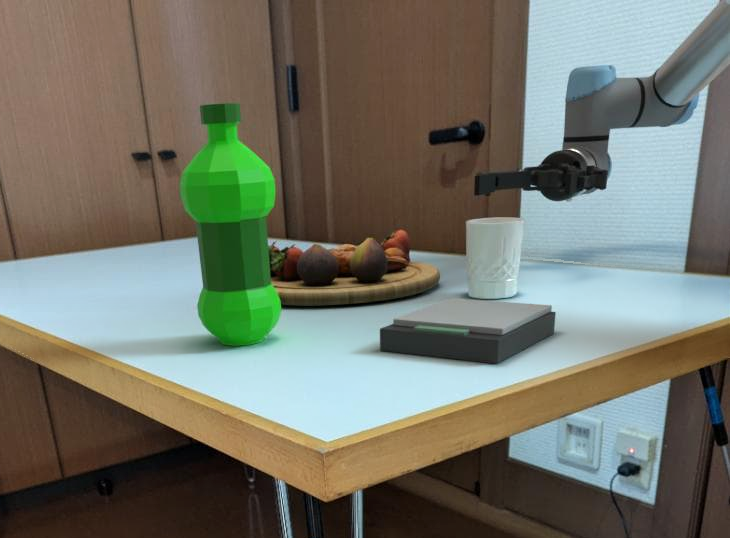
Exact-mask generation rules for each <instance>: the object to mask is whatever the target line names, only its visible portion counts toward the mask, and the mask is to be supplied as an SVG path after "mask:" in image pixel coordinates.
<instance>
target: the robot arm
mask: <svg viewBox="0 0 730 538" xmlns="http://www.w3.org/2000/svg"><path fill="white" fill-rule="evenodd" d="M729 65H730V0H720V1H719V3H717V4H716V6H715V7H713V9H712V10H711V11H710V12H709V13H708V14H707V15H706V16H705V18H703V19H702V21H701V22H700V23H699V24H698V25H697V26H695V28H694V30H693V31H691V33H689V35H688V36H687V37H686V38H685V39H684V40H683V41H682V43H680V45H679V46H678V47H677V48H676V49H675V50H674V51H673V52H672V53H671V54H670V56H668V57H667V58H666V60H665V61H663V63H662V64H661V65H660V67H658V68H657V69H656V70H655V72H653V73H652V74H651V75H649V76H641V77H640V76H639V77H617V75H616V73H617V72H616V70H617V69H616V67H615V65H612V64H597V65H586V66H578V67H575V68H573V69H572V70H571V71H570V73H569V76H568V79H567V84H566V93H565V97H564V98H565V100H564V101H565V105H564V125H563V126H564V127H563V130H564V131H563V139H562V147H561V149H560V150H556V151H553V152H551V153H549V154H548V155H547V156H545V157H544V159H543V160H542V161H541V162H540V164H538V165H536V166H525V167H524V168H523V169H521V168H516V169H512V170H500V171H490V172H489V171H488V172H479V171H478V172H476V174H475V175H474V189H473V190H474V191H473V193H474V194H473V196H483V195H484V197H491V195H492V194H493V193H495V192H496V191H503V190H504V191H505V190H517V189H522V191H526V192H533V191H537V192H540V194H541V195H542V196H543V197H545V198H546V199H548V200H549V201H551V202H563V201H566V202H572V201H573V198H575V197H579V196H582V195H589V194H592V193H594V192H596V191H597V190H599V191H604V190H606V189H607V185H608V179H609V178H610V176H611V173H612V169H613V163H612V158H611V156H610V154H609V152H608V151H609V140H610V134H611V130H616V129H617V130H618V129H633V128H634V129H635V128H653V127H659V128H667V127H668V128H669V127H671V126H675V125H682V124H684V123H686V122H688V121H689V120H690V119H691V118H692V116H693V115H694V111H695V109H697V107H698V105H699V100H700V93H701V92H702V91H703V90H704V89H705V88H706V87H707V86H708V85H709V84H710V83H711V82H713V81H714V79H716V78H717V76H719V75H720V74H721V73H722V72H723V71H725V69H727V67H729Z"/></svg>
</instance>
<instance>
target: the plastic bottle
mask: <svg viewBox="0 0 730 538" xmlns="http://www.w3.org/2000/svg"><path fill="white" fill-rule="evenodd" d="M241 111H242V110H241V103H237V102H235V103H233V102H232V103H230V102H229V103H228V102H227V103H210V104H201V105H199V113H200V114H199V115H200V122H201V123H200V124H201V125H202V126H206V133H207V142H206V143H205V144H204V145H203V146H202V148H201V149H199V151H197V153H196V154H195V156H194V157H193V158H192V159H191V160H190V162H189V163H188V164H187V166H186V167H185V168H184V170H183V171H182V172H181V177H180V181H179V192H180V199H181V202H182V205H183V208H184V211H185V212H186V213H187V214H188V216H190V217H191V219H193V220H194V221H195V227H196V228H195V229H196V238H197V246H198V247H197V248H198V254H199V264H200V272H201V281H202V289H201V290H200V293H199V297H198V301H197V304H196V308H197V315H198V318H199V321H200V322H201V324H202V326H203V327H204V328H205V329H206V330H207V332H209V333H210V334H211V335H213V336H214V337H215V338H216V339H217V340H218V341H220V343H221V344H222V345H224V346H233V347H239V346H250V345H251V346H252V345H254V344H260V343H261V342H263V341H265V337H267V336H268V335H269V334H270V333H271V332H272V330H273V329H274V328H275V327H276V326H277V324H278V322H279V320H280V317H281V313H282V305H281V301H280V298H279V296H278V294H277V292H276V290H275V288H274V287H273V285H272V283H271V275H270V263H269V250H268V245H269V240H268V239H269V238H268V226H267V225H268V224H267V217H268V215H269V214H270V212H271V211H272V210H273V208H274V207H275V201H276V193H277V192H276V179H275V177H274V175H273V172H272V170H271V168H270V166H269V165H268V164H267V163H265V161H263V160H262V159H261V158H260V157H259V156H258V155H257V154H256V153H255V152H254V151H252V150H251V149H250V148H249V147H248V146H247V145H245V144H244V143H243V142H242V141H240V140H239V135H238V124H241V123H242V112H241Z"/></svg>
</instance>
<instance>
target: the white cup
mask: <svg viewBox="0 0 730 538" xmlns="http://www.w3.org/2000/svg"><path fill="white" fill-rule="evenodd" d="M524 228H525V219H524V218H523V217H514V216H513V217H511V216H510V217H509V216H508V217H507V216H506V217H505V216H504V217H503V216H501V217H500V216H499V217H483V218H473V219H467V220H466V221H465V242H466V243H465V253H466V254H465V256H466V276H467V295H468V297H470V298H474V299H481V300H496V299H506V298H512V297H514V296H516V295H517V292H518V291H517V289H518V278H519V277H518V276H519V274H520V267H521V258H522V248H523V238H524Z"/></svg>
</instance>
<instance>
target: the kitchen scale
mask: <svg viewBox="0 0 730 538" xmlns="http://www.w3.org/2000/svg"><path fill="white" fill-rule="evenodd" d="M552 310H553V306H552V304H537V303H523V302H508V301H493V300H482V299H481V300H479V299H463V298H451V297H450V298H446V299H444V300H441V301H438V302H435V303H433V304H431V305H428V306H425V307H422V308H419V309H417V310H414V311H411V312H409V313H406V314H403V315H400V316H398V317H395V318H393V321H392V322H393V323H390V324H389V325H386V326H383V327H381V328H379V346H380V347H379V350H380V351H381V352H391V353H398V354H399V353H400V354H409V355H416V356H417V355H418V356H426V357H433V358H434V357H436V358H441V359H442V358H443V359H451V360H461V361H468V362H479V363H486V364H495V365H497V364H499V363H501V362H503V361H505V360H507V359H509V358H511V357H512V356H514V355H516V354H518V353H520V352H523V351H524V350H525V349H527V348H529V347H532V346H533V345H535V344H537V343H538V342H540V341H543V340H544V339H546V338H548V337H550V336H552V335H553V334H555V329H556V328H555V327H556V313H557V312H556V311H552Z"/></svg>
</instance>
